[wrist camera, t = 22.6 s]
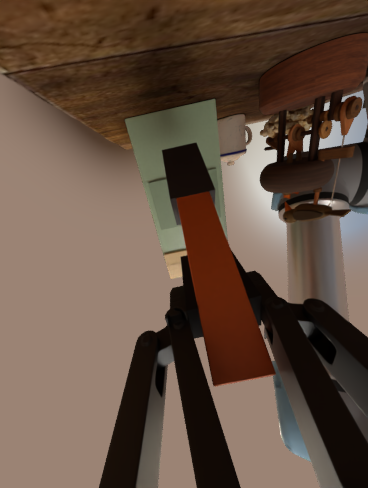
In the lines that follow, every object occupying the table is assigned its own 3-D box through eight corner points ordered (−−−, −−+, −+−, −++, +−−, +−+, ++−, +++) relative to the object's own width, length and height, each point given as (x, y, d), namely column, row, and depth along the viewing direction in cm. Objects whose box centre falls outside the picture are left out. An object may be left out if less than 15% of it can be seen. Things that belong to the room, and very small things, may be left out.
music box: (325, 26, 13) (309, 247, 22) (434, -3, 14) (377, 218, 23) (228, 98, 27) (243, 217, 36) (288, 80, 28) (288, 199, 37)
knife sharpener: (289, 372, 8) (265, 367, 12) (196, 142, 21) (198, 173, 25) (201, 389, 9) (204, 378, 12) (161, 149, 21) (168, 179, 25)
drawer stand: (217, 95, 24) (231, 269, 38) (199, 120, 40) (213, 237, 54) (121, 116, 25) (170, 281, 38) (140, 133, 40) (170, 246, 54)
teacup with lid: (205, 125, 50) (210, 168, 55) (222, 116, 42) (226, 168, 47) (240, 118, 52) (242, 160, 57) (262, 109, 44) (262, 159, 50)
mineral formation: (321, 101, 51) (269, 119, 62) (307, 89, 43) (250, 113, 54) (318, 132, 53) (268, 145, 64) (303, 126, 45) (250, 142, 56)
